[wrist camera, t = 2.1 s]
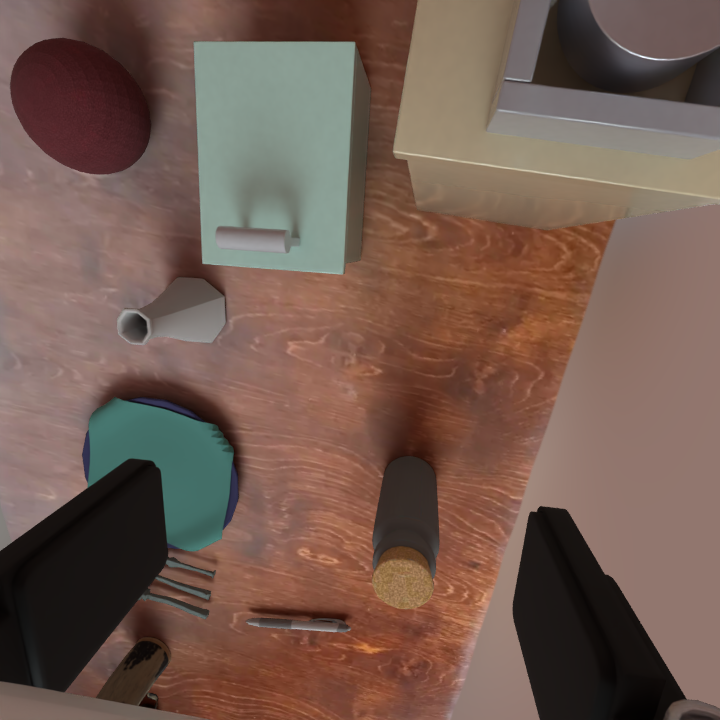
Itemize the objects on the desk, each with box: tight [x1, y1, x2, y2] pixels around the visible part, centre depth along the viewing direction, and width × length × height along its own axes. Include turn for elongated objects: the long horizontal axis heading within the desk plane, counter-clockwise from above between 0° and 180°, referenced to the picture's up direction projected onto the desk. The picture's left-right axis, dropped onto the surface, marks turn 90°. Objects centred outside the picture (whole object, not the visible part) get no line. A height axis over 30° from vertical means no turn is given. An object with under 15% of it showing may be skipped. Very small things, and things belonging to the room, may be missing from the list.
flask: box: [117, 277, 226, 345], centre depth 39 cm, size 7×7×10 cm
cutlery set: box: [82, 397, 239, 619], centre depth 50 cm, size 20×30×2 cm, turn 168°
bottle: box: [372, 456, 439, 609], centre depth 38 cm, size 6×6×15 cm
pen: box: [246, 618, 351, 632], centre depth 52 cm, size 1×14×1 cm, turn 95°
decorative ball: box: [10, 38, 151, 174], centre depth 36 cm, size 10×10×10 cm
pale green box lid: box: [194, 41, 357, 274], centre depth 29 cm, size 16×12×5 cm
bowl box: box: [346, 49, 371, 263], centre depth 35 cm, size 15×12×8 cm
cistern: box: [393, 0, 720, 230], centre depth 23 cm, size 9×13×27 cm
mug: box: [96, 637, 171, 709], centre depth 53 cm, size 8×6×12 cm
